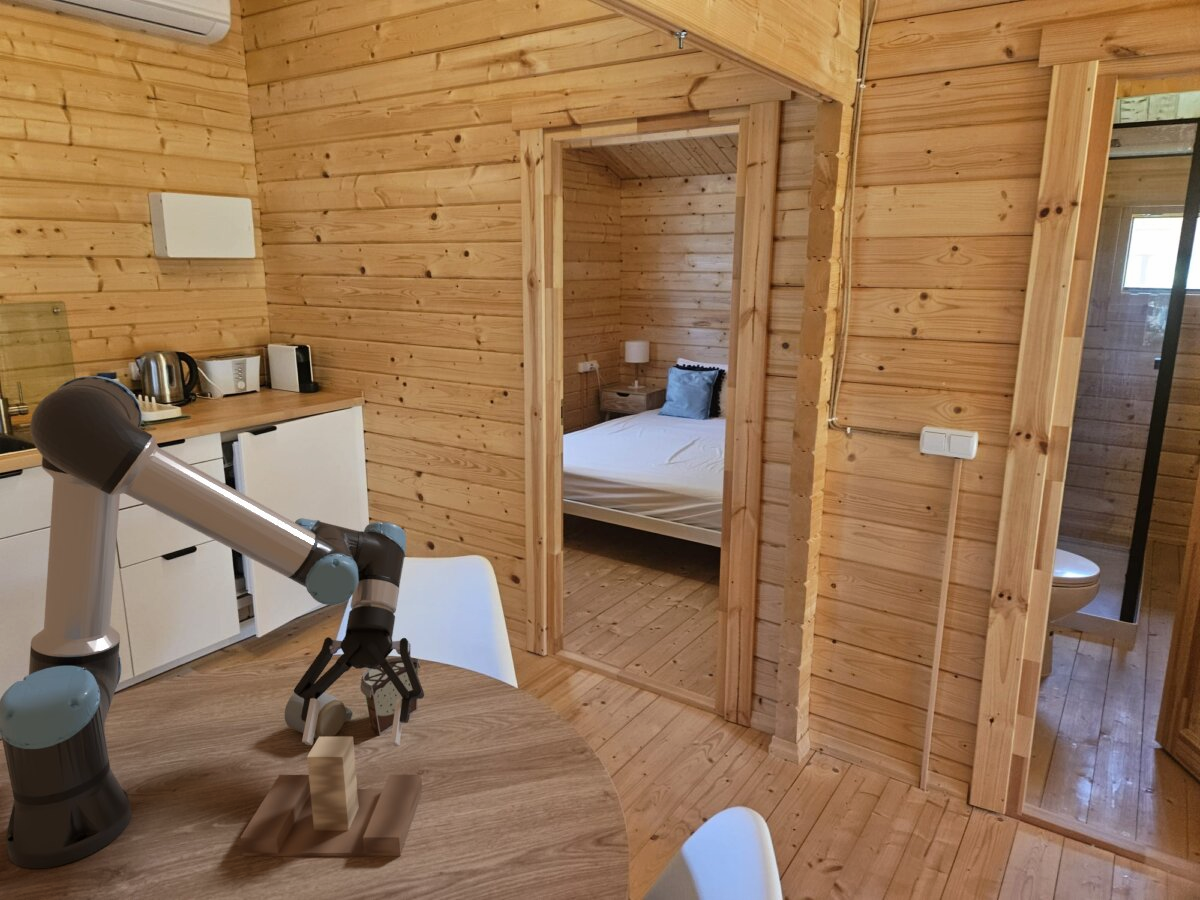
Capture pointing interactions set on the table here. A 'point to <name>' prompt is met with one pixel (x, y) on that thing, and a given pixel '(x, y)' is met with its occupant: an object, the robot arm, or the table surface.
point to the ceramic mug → (328, 716)
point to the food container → (385, 693)
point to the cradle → (372, 832)
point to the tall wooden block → (333, 783)
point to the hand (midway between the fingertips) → (350, 744)
